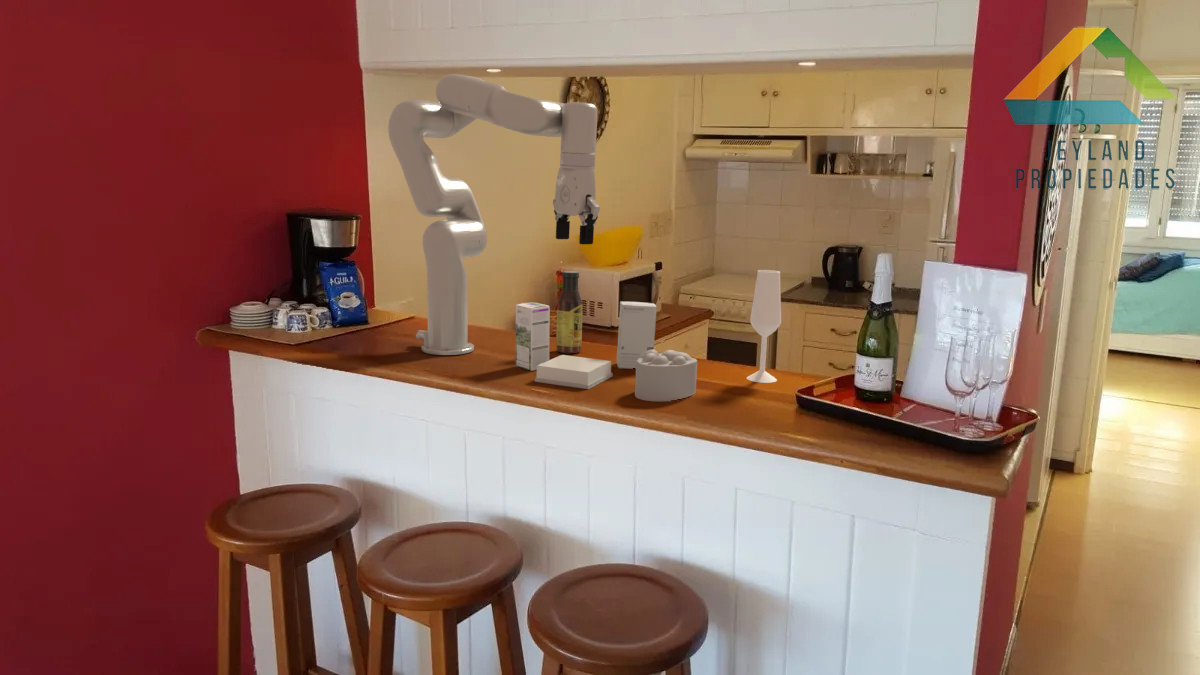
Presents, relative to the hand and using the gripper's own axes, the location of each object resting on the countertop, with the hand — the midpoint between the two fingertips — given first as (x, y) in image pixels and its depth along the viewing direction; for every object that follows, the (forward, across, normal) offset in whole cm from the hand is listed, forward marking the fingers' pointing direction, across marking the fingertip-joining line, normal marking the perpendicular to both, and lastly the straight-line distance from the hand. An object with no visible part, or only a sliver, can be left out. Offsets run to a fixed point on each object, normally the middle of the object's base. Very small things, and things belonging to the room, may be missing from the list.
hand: (574, 241), depth 190 cm
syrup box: (+29, -5, -6) cm, 30 cm away
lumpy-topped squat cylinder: (+28, +27, +6) cm, 40 cm away
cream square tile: (+29, +8, -4) cm, 30 cm away
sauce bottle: (+29, -16, +10) cm, 35 cm away
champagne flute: (+28, +28, +33) cm, 52 cm away
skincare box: (+29, +5, +15) cm, 33 cm away
